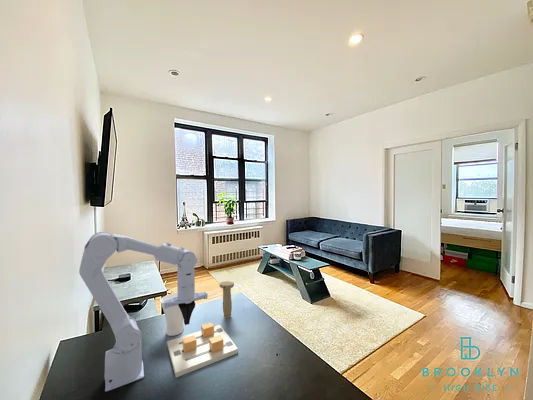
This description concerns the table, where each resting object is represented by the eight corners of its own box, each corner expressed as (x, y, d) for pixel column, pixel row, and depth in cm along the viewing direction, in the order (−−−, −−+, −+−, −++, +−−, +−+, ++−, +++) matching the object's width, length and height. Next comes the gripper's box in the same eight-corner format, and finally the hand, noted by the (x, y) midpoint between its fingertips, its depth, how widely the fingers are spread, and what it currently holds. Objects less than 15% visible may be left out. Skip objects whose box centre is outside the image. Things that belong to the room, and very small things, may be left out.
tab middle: (184, 352, 76) (184, 343, 76) (182, 347, 79) (182, 338, 79) (196, 348, 78) (196, 339, 78) (194, 343, 81) (194, 335, 81)
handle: (232, 320, 99) (231, 285, 99) (218, 318, 101) (217, 284, 101) (236, 314, 104) (235, 281, 104) (223, 313, 105) (222, 281, 105)
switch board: (175, 377, 67) (175, 372, 67) (167, 345, 83) (167, 341, 83) (237, 352, 78) (237, 348, 78) (220, 328, 93) (219, 324, 93)
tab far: (203, 337, 84) (203, 329, 84) (201, 333, 87) (201, 325, 87) (214, 333, 86) (214, 325, 86) (211, 329, 89) (211, 322, 89)
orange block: (212, 352, 76) (211, 343, 76) (209, 347, 78) (209, 338, 78) (223, 348, 78) (223, 339, 78) (220, 343, 80) (220, 334, 80)
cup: (160, 328, 94) (159, 295, 94) (186, 321, 99) (186, 290, 99) (161, 342, 85) (160, 306, 85) (190, 334, 89) (189, 299, 90)
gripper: (165, 292, 73) (165, 335, 73) (209, 283, 81) (210, 322, 80) (162, 286, 79) (163, 325, 79) (204, 278, 87) (204, 314, 86)
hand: (186, 323), depth 80 cm, fingers closed
